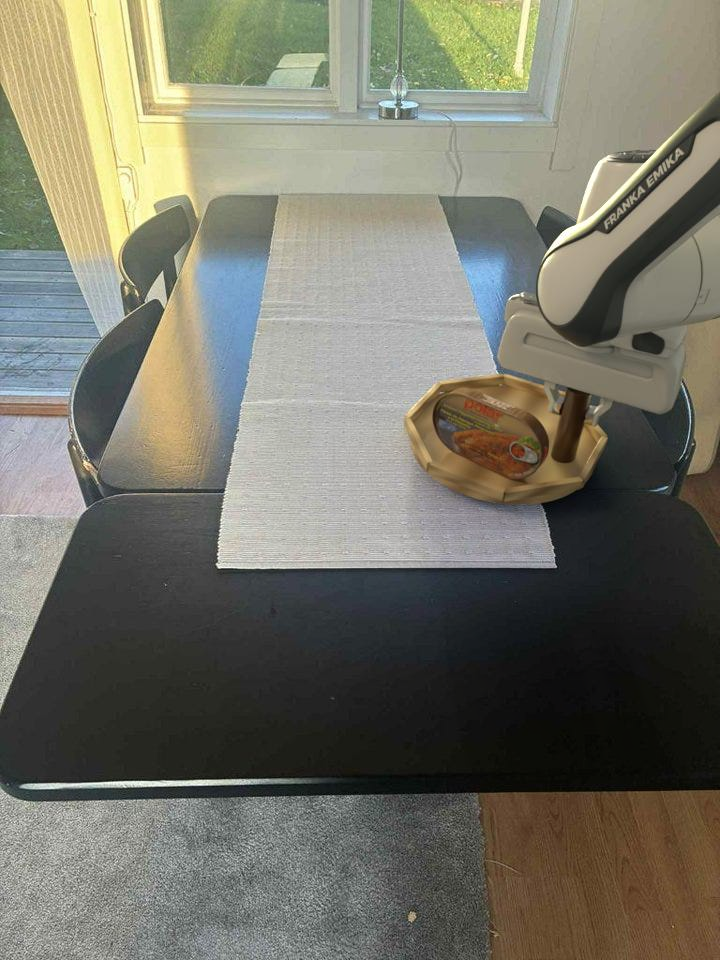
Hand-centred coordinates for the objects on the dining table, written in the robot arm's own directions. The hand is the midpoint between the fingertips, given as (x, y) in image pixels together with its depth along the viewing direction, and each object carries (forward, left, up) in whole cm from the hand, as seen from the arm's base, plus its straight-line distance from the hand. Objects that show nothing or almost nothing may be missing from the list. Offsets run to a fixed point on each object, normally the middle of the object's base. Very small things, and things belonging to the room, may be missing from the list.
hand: (573, 417), depth 84 cm
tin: (+8, +6, -6) cm, 12 cm away
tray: (+8, 0, -7) cm, 11 cm away
